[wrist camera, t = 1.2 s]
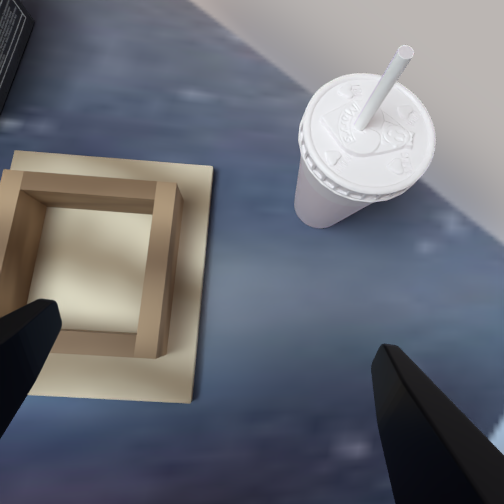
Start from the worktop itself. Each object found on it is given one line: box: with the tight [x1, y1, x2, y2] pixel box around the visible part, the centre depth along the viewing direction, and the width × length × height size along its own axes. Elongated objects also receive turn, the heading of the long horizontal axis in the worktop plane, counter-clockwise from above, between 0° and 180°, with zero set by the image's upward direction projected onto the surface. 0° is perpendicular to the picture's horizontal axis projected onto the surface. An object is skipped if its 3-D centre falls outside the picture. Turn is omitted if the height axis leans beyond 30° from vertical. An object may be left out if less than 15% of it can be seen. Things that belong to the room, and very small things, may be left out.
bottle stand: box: [0, 150, 213, 403], centre depth 21 cm, size 16×14×4 cm
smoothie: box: [294, 45, 436, 228], centre depth 18 cm, size 6×6×14 cm
